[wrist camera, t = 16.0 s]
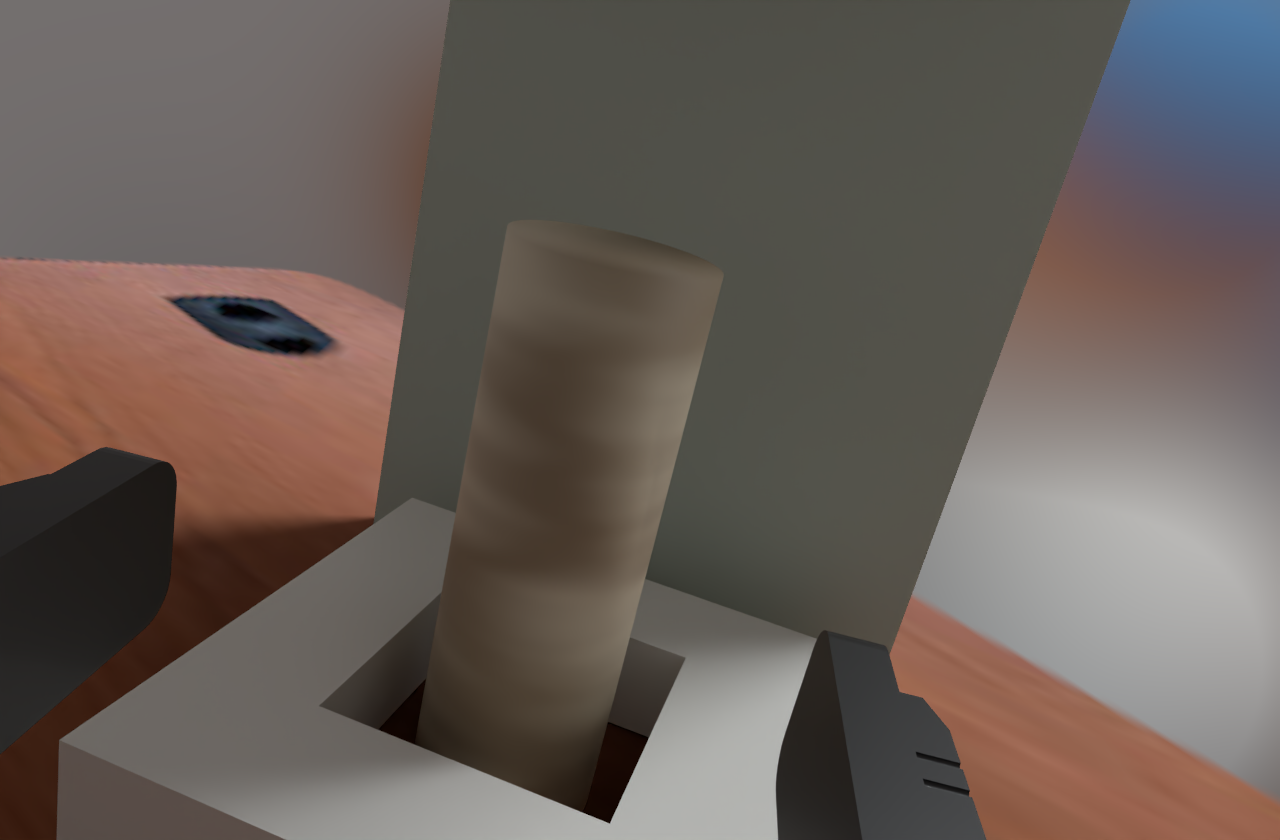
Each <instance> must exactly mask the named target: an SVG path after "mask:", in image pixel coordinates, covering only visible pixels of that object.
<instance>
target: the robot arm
mask: <svg viewBox="0 0 1280 840" xmlns="http://www.w3.org/2000/svg"><path fill="white" fill-rule="evenodd" d="M176 487H177V480H176V474H175V470H174V468H173V466H172V465H171V464H170V463H168V462H165V461H161V460H157V459H153V458H149V457H145V456H141V455H137V454H133V453H129V452H125V451H121V450H117V449H113V448H108V447H105V448H100V449H98V450H96V451H94V452H92V453H90V454H88V455H86V456H85V457H83V458H81V459H79V460H77V461H75V462H73V463H71V464H69V465H67V466H66V467H64V468H62V469H60V470H58V471H56V472H54V473H52V474H47V475H43V476H39V477H35V478H31V479H27V480H23V481H19V482H15V483H11V484H7V485H3V486H0V754H1V753H2V752H3V751H5V750H6V749H7V748H8V747H9V746H10V745H11V744H13V743H14V742H15V741H16V740H17V739H18V738H20V737H21V736H22V735H23V734H24V733H25V732H26V731H28V730H29V729H30V728H31V727H32V726H33V725H34V724H36V723H37V722H38V721H39V720H40V719H41V718H43V717H44V716H45V715H46V714H47V713H48V712H49V711H51V710H52V709H53V708H54V707H55V706H56V705H57V704H59V703H60V702H61V701H62V700H63V699H64V698H65V697H67V696H68V695H69V694H70V693H71V692H72V691H74V690H75V689H76V688H77V687H78V686H79V685H80V684H82V683H83V682H84V681H85V680H86V679H87V678H88V677H90V676H91V675H92V674H93V673H94V672H95V671H97V670H98V669H99V668H100V667H101V666H102V665H103V664H105V663H106V662H107V661H108V660H109V659H110V658H111V657H113V656H114V655H115V654H116V653H117V652H118V651H120V650H121V649H122V648H123V647H124V646H125V645H126V644H128V643H129V642H130V641H131V640H132V639H133V638H134V637H136V636H137V635H138V634H139V633H140V632H141V631H142V630H144V629H145V628H146V627H147V626H148V625H149V624H150V622H151V621H152V620H153V619H154V617H155V616H156V614H157V613H158V611H159V609H160V607H161V605H162V603H163V601H164V598H165V596H166V593H167V590H168V586H169V582H170V575H171V561H172V546H173V531H174V517H175V502H176ZM969 791H970V790H969V787H968V784H967V781H966V778H965V775H964V772H963V770H962V769H960V760H959V757H958V754H957V751H956V748H955V745H954V742H953V739H952V736H951V733H950V730H949V729H948V728H947V727H946V725H945V724H944V723H943V722H942V721H941V719H940V718H939V717H938V716H937V715H936V713H935V712H934V711H933V710H932V709H931V707H930V706H929V705H928V704H927V703H926V701H925V700H924V699H923V698H921V697H917V696H913V695H909V694H905V693H901V692H899V689H898V685H897V682H896V678H895V674H894V671H893V667H892V663H891V660H890V656H889V652H888V650H887V647H886V646H885V645H882V644H878V643H874V642H870V641H866V640H862V639H858V638H854V637H851V636H847V635H843V634H839V633H835V632H831V631H827V630H823V631H822V632H821V633H820V635H819V636H818V638H817V640H816V643H815V645H814V648H813V651H812V654H811V657H810V660H809V663H808V666H807V669H806V672H805V675H804V678H803V681H802V684H801V687H800V690H799V693H798V696H797V699H796V702H795V705H794V708H793V711H792V714H791V717H790V720H789V723H788V726H787V729H786V732H785V735H784V738H783V742H782V746H781V750H780V755H779V760H778V767H777V774H776V809H777V828H778V840H986V837H985V834H984V831H983V828H982V825H981V822H980V819H979V816H978V814H977V811H976V808H975V805H974V802H973V799H972V797H969Z"/></svg>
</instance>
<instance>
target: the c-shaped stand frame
mask: <svg viewBox="0 0 1280 840" xmlns="http://www.w3.org/2000/svg"><path fill="white" fill-rule="evenodd" d="M1129 3H1130V0H450V7H449V13H448V20H447V27H446V34H445V40H444V47H443V54H442V61H441V68H440V74H439V81H438V89H437V95H436V102H435V109H434V115H433V122H432V129H431V136H430V143H429V149H428V156H427V163H426V170H425V177H424V184H423V191H422V197H421V205H420V211H419V218H418V224H417V231H416V238H415V245H414V252H413V259H412V266H411V272H410V279H409V286H408V293H407V299H406V306H405V313H404V320H403V327H402V333H401V340H400V347H399V354H398V361H397V367H396V374H395V381H394V388H393V395H392V402H391V408H390V415H389V422H388V429H387V436H386V442H385V449H384V456H383V463H382V470H381V477H380V483H379V490H378V497H377V504H376V511H375V517H374V524H375V523H376V522H377V521H379V520H380V519H382V518H383V517H385V516H386V515H388V514H389V513H391V512H392V511H393V510H395V509H396V508H398V507H399V506H401V505H402V504H404V503H405V502H407V501H408V500H409V499H411V498H414V499H417V500H420V501H423V502H426V503H429V504H432V505H435V506H437V507H440V508H443V509H446V510H449V511H452V512H455V513H456V509H457V503H458V498H459V492H460V487H461V481H462V475H463V470H464V464H465V459H466V453H467V448H468V442H469V436H470V431H471V425H472V420H473V414H474V408H475V403H476V397H477V392H478V386H479V380H480V375H481V369H482V364H483V358H484V353H485V347H486V341H487V336H488V330H489V325H490V319H491V313H492V308H493V302H494V297H495V291H496V285H497V280H498V274H499V269H500V263H501V258H502V252H503V246H504V241H505V235H506V230H507V225H508V224H509V223H510V222H513V221H517V220H548V221H558V222H566V223H573V224H579V225H585V226H591V227H596V228H601V229H606V230H611V231H615V232H620V233H624V234H628V235H632V236H636V237H640V238H644V239H647V240H651V241H654V242H658V243H661V244H664V245H668V246H671V247H674V248H677V249H679V250H682V251H685V252H688V253H690V254H693V255H695V256H698V257H700V258H702V259H704V260H706V261H708V262H710V263H712V264H714V265H715V266H717V267H718V268H719V269H721V270H722V272H723V273H724V277H723V280H722V284H721V288H720V292H719V296H718V300H717V304H716V307H715V311H714V315H713V319H712V323H711V327H710V331H709V334H708V338H707V342H706V346H705V350H704V354H703V357H702V361H701V365H700V369H699V373H698V377H697V381H696V384H695V388H694V392H693V396H692V400H691V404H690V408H689V411H688V415H687V419H686V423H685V427H684V431H683V435H682V438H681V442H680V446H679V450H678V454H677V458H676V461H675V465H674V469H673V473H672V477H671V481H670V485H669V488H668V492H667V496H666V500H665V504H664V508H663V512H662V515H661V519H660V523H659V527H658V531H657V535H656V539H655V542H654V546H653V550H652V554H651V558H650V562H649V565H648V569H647V573H646V577H645V579H647V580H650V581H653V582H655V583H658V584H661V585H664V586H667V587H670V588H673V589H676V590H678V591H681V592H684V593H687V594H690V595H693V596H696V597H698V598H701V599H704V600H707V601H710V602H713V603H716V604H719V605H721V606H724V607H727V608H730V609H733V610H736V611H739V612H741V613H744V614H747V615H750V616H753V617H756V618H759V619H762V620H764V621H767V622H770V623H773V624H776V625H779V626H782V627H785V628H787V629H790V630H793V631H796V632H799V633H802V634H805V635H807V636H810V637H813V638H816V639H817V638H818V636H819V635H820V633H821V632H822V631H823V630H827V631H831V632H835V633H839V634H843V635H847V636H851V637H854V638H858V639H862V640H866V641H870V642H874V643H878V644H882V645H885V646H886V647H887V650H888V652H889V654H890V652H891V649H892V646H893V644H894V641H895V638H896V635H897V633H898V630H899V627H900V625H901V622H902V619H903V616H904V614H905V611H906V608H907V606H908V603H909V600H910V597H911V595H912V592H913V589H914V587H915V584H916V581H917V578H918V575H919V573H920V570H921V567H922V565H923V562H924V559H925V557H926V554H927V551H928V549H929V546H930V543H931V540H932V538H933V535H934V532H935V529H936V527H937V524H938V521H939V518H940V516H941V513H942V510H943V508H944V505H945V502H946V500H947V497H948V494H949V492H950V489H951V486H952V483H953V481H954V478H955V475H956V473H957V470H958V467H959V464H960V462H961V459H962V456H963V454H964V451H965V448H966V445H967V443H968V440H969V437H970V435H971V432H972V429H973V426H974V424H975V421H976V418H977V415H978V413H979V410H980V407H981V405H982V402H983V399H984V397H985V394H986V391H987V388H988V386H989V382H990V380H991V377H992V375H993V372H994V369H995V367H996V364H997V361H998V359H999V356H1000V353H1001V350H1002V348H1003V345H1004V342H1005V340H1006V337H1007V334H1008V331H1009V328H1010V326H1011V323H1012V320H1013V318H1014V315H1015V312H1016V309H1017V307H1018V304H1019V301H1020V299H1021V296H1022V293H1023V290H1024V288H1025V285H1026V283H1027V280H1028V277H1029V274H1030V271H1031V269H1032V266H1033V264H1034V261H1035V258H1036V255H1037V252H1038V250H1039V247H1040V244H1041V242H1042V239H1043V236H1044V234H1045V231H1046V228H1047V225H1048V223H1049V220H1050V217H1051V214H1052V212H1053V209H1054V207H1055V204H1056V201H1057V198H1058V196H1059V193H1060V190H1061V188H1062V185H1063V182H1064V179H1065V177H1066V174H1067V171H1068V169H1069V166H1070V163H1071V160H1072V158H1073V155H1074V152H1075V149H1076V146H1077V144H1078V141H1079V139H1080V136H1081V133H1082V131H1083V128H1084V125H1085V122H1086V120H1087V117H1088V114H1089V111H1090V108H1091V106H1092V103H1093V101H1094V98H1095V95H1096V93H1097V89H1098V87H1099V84H1100V82H1101V79H1102V76H1103V74H1104V71H1105V68H1106V65H1107V63H1108V60H1109V57H1110V54H1111V52H1112V49H1113V46H1114V44H1115V41H1116V38H1117V36H1118V33H1119V30H1120V27H1121V24H1122V22H1123V19H1124V17H1125V14H1126V11H1127V8H1128V6H1129Z"/></svg>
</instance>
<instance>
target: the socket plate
mask: <svg viewBox="0 0 1280 840" xmlns="http://www.w3.org/2000/svg"><path fill="white" fill-rule="evenodd" d="M455 515H456V513H455V512H452V511H449V510H446V509H443V508H440V507H437V506H435V505H432V504H429V503H426V502H423V501H420V500H417V499H414V498H411V499H409V500H408V501H407V502H405V503H404V504H402V505H401V506H399V507H398V508H396V509H395V510H393V511H392V512H391V513H389V514H388V515H386V516H385V517H383V518H382V519H380V520H379V521H377V522H376V523H375V524H373V525H372V526H370V527H369V528H367V529H366V530H364V531H363V532H361V533H360V534H359V535H357V536H356V537H354V538H353V539H351V540H350V541H348V542H347V543H345V544H344V545H342V546H341V547H340V548H338V549H337V550H335V551H334V552H332V553H331V554H329V555H328V556H326V557H325V558H324V559H322V560H321V561H319V562H318V563H316V564H315V565H313V566H312V567H310V568H309V569H308V570H306V571H305V572H303V573H302V574H300V575H299V576H297V577H296V578H294V579H293V580H292V581H290V582H289V583H287V584H286V585H284V586H283V587H281V588H280V589H278V590H277V591H275V592H274V593H273V594H271V595H270V596H268V597H267V598H265V599H264V600H262V601H261V602H259V603H258V604H257V605H255V606H254V607H252V608H251V609H249V610H248V611H246V612H245V613H243V614H242V615H241V616H239V617H238V618H236V619H235V620H233V621H232V622H230V623H229V624H227V625H226V626H224V627H223V628H222V629H220V630H219V631H217V632H216V633H214V634H213V635H211V636H210V637H208V638H207V639H206V640H204V641H203V642H201V643H200V644H198V645H197V646H195V647H194V648H192V649H191V650H190V651H188V652H187V653H185V654H184V655H182V656H181V657H179V658H178V659H176V660H175V661H174V662H172V663H171V664H169V665H168V666H166V667H165V668H163V669H162V670H160V671H159V672H157V673H156V674H155V675H153V676H152V677H150V678H149V679H147V680H146V681H144V682H143V683H141V684H140V685H139V686H137V687H136V688H134V689H133V690H131V691H130V692H128V693H127V694H125V695H124V696H123V697H121V698H120V699H118V700H117V701H115V702H114V703H112V704H111V705H109V706H108V707H107V708H105V709H104V710H102V711H101V712H99V713H98V714H96V715H95V716H93V717H92V718H90V719H89V720H88V721H86V722H85V723H83V724H82V725H80V726H79V727H77V728H76V729H74V730H73V731H72V732H70V733H69V734H67V735H66V736H64V737H63V738H61V739H60V740H59V764H58V803H57V840H778V828H777V809H776V774H777V767H778V760H779V755H780V750H781V746H782V742H783V738H784V735H785V732H786V729H787V726H788V723H789V720H790V717H791V714H792V711H793V708H794V705H795V702H796V699H797V696H798V693H799V690H800V687H801V684H802V681H803V678H804V675H805V672H806V669H807V666H808V663H809V660H810V657H811V654H812V651H813V648H814V645H815V643H816V640H817V639H816V638H813V637H810V636H807V635H805V634H802V633H799V632H796V631H793V630H790V629H787V628H785V627H782V626H779V625H776V624H773V623H770V622H767V621H764V620H762V619H759V618H756V617H753V616H750V615H747V614H744V613H741V612H739V611H736V610H733V609H730V608H727V607H724V606H721V605H719V604H716V603H713V602H710V601H707V600H704V599H701V598H698V597H696V596H693V595H690V594H687V593H684V592H681V591H678V590H676V589H673V588H670V587H667V586H664V585H661V584H658V583H655V582H653V581H650V580H647V579H645V581H644V585H643V589H642V592H641V596H640V600H639V604H638V608H637V612H636V616H635V619H634V623H633V627H632V631H631V635H630V639H629V643H628V646H627V650H626V654H625V658H624V662H623V666H622V669H621V673H620V677H619V681H618V685H617V689H616V693H615V696H614V700H613V704H612V708H611V712H610V716H609V720H608V722H610V723H613V724H615V725H618V726H621V727H623V728H626V729H628V730H631V731H634V732H636V733H639V734H641V735H644V736H647V737H649V739H648V741H647V744H646V746H645V748H644V750H643V752H642V754H641V757H640V759H639V761H638V763H637V765H636V768H635V770H634V772H633V774H632V776H631V779H630V781H629V783H628V785H627V787H626V789H625V792H624V794H623V796H622V798H621V800H620V803H619V805H618V807H617V809H616V811H615V813H614V816H613V818H612V820H611V822H610V824H609V823H607V822H604V821H602V820H599V819H597V818H595V817H592V816H590V815H587V814H585V813H582V812H580V811H577V810H575V809H572V808H570V807H567V806H565V805H562V804H560V803H557V802H555V801H553V800H550V799H548V798H545V797H543V796H540V795H538V794H535V793H533V792H530V791H528V790H525V789H523V788H520V787H518V786H515V785H513V784H511V783H508V782H506V781H503V780H501V779H498V778H496V777H493V776H491V775H488V774H486V773H483V772H481V771H478V770H476V769H473V768H471V767H469V766H466V765H464V764H461V763H459V762H456V761H454V760H451V759H449V758H446V757H444V756H441V755H439V754H436V753H434V752H431V751H429V750H427V749H424V748H422V747H419V746H417V745H414V744H412V743H409V742H407V741H404V740H402V739H399V738H397V737H394V736H392V735H389V734H387V733H384V732H382V731H380V730H378V729H379V728H380V727H381V726H382V725H383V724H384V723H385V722H386V721H387V720H388V719H389V717H390V716H391V715H392V714H393V713H394V712H395V711H396V710H397V709H398V708H399V707H400V706H401V705H402V704H403V702H404V701H405V700H406V699H407V698H408V697H409V696H410V695H411V694H412V693H413V692H414V691H415V690H416V688H417V687H418V686H419V685H420V684H421V683H422V682H423V681H424V680H425V679H426V677H427V671H428V665H429V660H430V654H431V649H432V643H433V637H434V632H435V626H436V621H437V615H438V610H439V604H440V598H441V593H442V587H443V582H444V576H445V570H446V565H447V559H448V554H449V548H450V542H451V537H452V531H453V526H454V520H455Z"/></svg>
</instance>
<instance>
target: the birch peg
mask: <svg viewBox="0 0 1280 840" xmlns="http://www.w3.org/2000/svg"><path fill="white" fill-rule="evenodd" d="M723 277H724V273H723V272H722V270H721V269H719V268H718V267H717V266H715V265H714V264H712V263H710V262H708V261H706V260H704V259H702V258H700V257H698V256H695V255H693V254H690V253H688V252H685V251H682V250H679V249H677V248H674V247H671V246H668V245H664V244H661V243H658V242H654V241H651V240H647V239H644V238H640V237H636V236H632V235H628V234H624V233H620V232H615V231H611V230H606V229H601V228H596V227H591V226H585V225H579V224H573V223H566V222H558V221H548V220H517V221H513V222H510V223H509V224H508V225H507V230H506V235H505V241H504V246H503V252H502V258H501V263H500V269H499V274H498V280H497V285H496V291H495V297H494V302H493V308H492V313H491V319H490V325H489V330H488V336H487V341H486V347H485V353H484V358H483V364H482V369H481V375H480V380H479V386H478V392H477V397H476V403H475V408H474V414H473V420H472V425H471V431H470V436H469V442H468V448H467V453H466V459H465V464H464V470H463V475H462V481H461V487H460V492H459V498H458V503H457V509H456V515H455V520H454V526H453V531H452V537H451V542H450V548H449V554H448V559H447V565H446V570H445V576H444V582H443V587H442V593H441V598H440V604H439V610H438V615H437V621H436V626H435V632H434V637H433V643H432V649H431V654H430V660H429V665H428V671H427V677H426V682H425V688H424V693H423V699H422V705H421V710H420V716H419V721H418V727H417V732H416V738H415V744H414V745H417V746H419V747H422V748H424V749H427V750H429V751H431V752H434V753H436V754H439V755H441V756H444V757H446V758H449V759H451V760H454V761H456V762H459V763H461V764H464V765H466V766H469V767H471V768H473V769H476V770H478V771H481V772H483V773H486V774H488V775H491V776H493V777H496V778H498V779H501V780H503V781H506V782H508V783H511V784H513V785H515V786H518V787H520V788H523V789H525V790H528V791H530V792H533V793H535V794H538V795H540V796H543V797H545V798H548V799H550V800H553V801H555V802H557V803H560V804H562V805H565V806H567V807H570V808H572V809H575V810H577V811H580V812H582V811H583V810H584V808H585V805H586V803H587V800H588V797H589V793H590V789H591V785H592V781H593V777H594V773H595V770H596V766H597V762H598V758H599V754H600V750H601V747H602V743H603V739H604V735H605V731H606V727H607V723H608V720H609V716H610V712H611V708H612V704H613V700H614V696H615V693H616V689H617V685H618V681H619V677H620V673H621V669H622V666H623V662H624V658H625V654H626V650H627V646H628V643H629V639H630V635H631V631H632V627H633V623H634V619H635V616H636V612H637V608H638V604H639V600H640V596H641V592H642V589H643V585H644V581H645V577H646V573H647V569H648V565H649V562H650V558H651V554H652V550H653V546H654V542H655V539H656V535H657V531H658V527H659V523H660V519H661V515H662V512H663V508H664V504H665V500H666V496H667V492H668V488H669V485H670V481H671V477H672V473H673V469H674V465H675V461H676V458H677V454H678V450H679V446H680V442H681V438H682V435H683V431H684V427H685V423H686V419H687V415H688V411H689V408H690V404H691V400H692V396H693V392H694V388H695V384H696V381H697V377H698V373H699V369H700V365H701V361H702V357H703V354H704V350H705V346H706V342H707V338H708V334H709V331H710V327H711V323H712V319H713V315H714V311H715V307H716V304H717V300H718V296H719V292H720V288H721V284H722V280H723Z"/></svg>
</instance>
